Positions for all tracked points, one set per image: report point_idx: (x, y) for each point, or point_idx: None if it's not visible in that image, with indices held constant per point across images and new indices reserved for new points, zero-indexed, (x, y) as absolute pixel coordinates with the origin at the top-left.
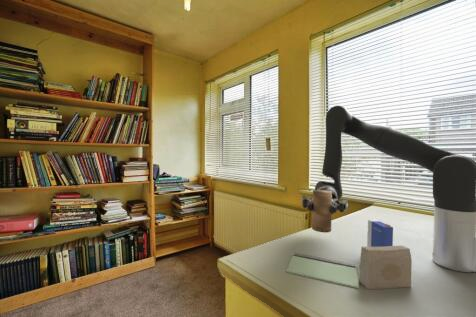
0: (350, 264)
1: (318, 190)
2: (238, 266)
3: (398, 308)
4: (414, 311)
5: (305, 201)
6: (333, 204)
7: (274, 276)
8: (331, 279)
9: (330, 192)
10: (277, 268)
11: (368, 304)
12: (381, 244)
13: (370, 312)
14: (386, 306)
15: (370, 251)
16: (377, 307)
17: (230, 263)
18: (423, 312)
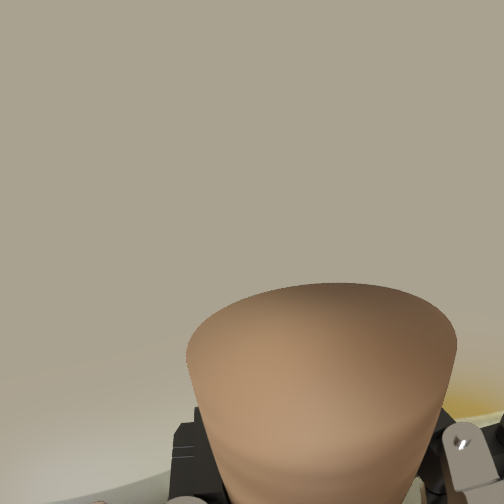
0: None
1: (405, 343)
2: (478, 423)
3: (103, 500)
4: (77, 499)
5: (498, 428)
6: (200, 456)
7: None
8: None
9: (207, 330)
10: (418, 491)
11: (160, 493)
12: None
13: (161, 473)
14: (124, 499)
15: (95, 502)
16: (143, 491)
17: (497, 415)
18: (63, 500)
